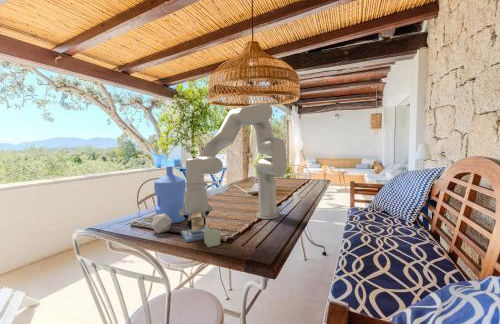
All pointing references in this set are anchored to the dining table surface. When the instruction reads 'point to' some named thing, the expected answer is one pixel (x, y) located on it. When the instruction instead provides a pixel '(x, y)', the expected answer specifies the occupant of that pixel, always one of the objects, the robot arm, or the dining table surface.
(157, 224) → the die
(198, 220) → the pine block
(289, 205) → the dining table surface
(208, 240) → the green block
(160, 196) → the water jug
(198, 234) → the board
